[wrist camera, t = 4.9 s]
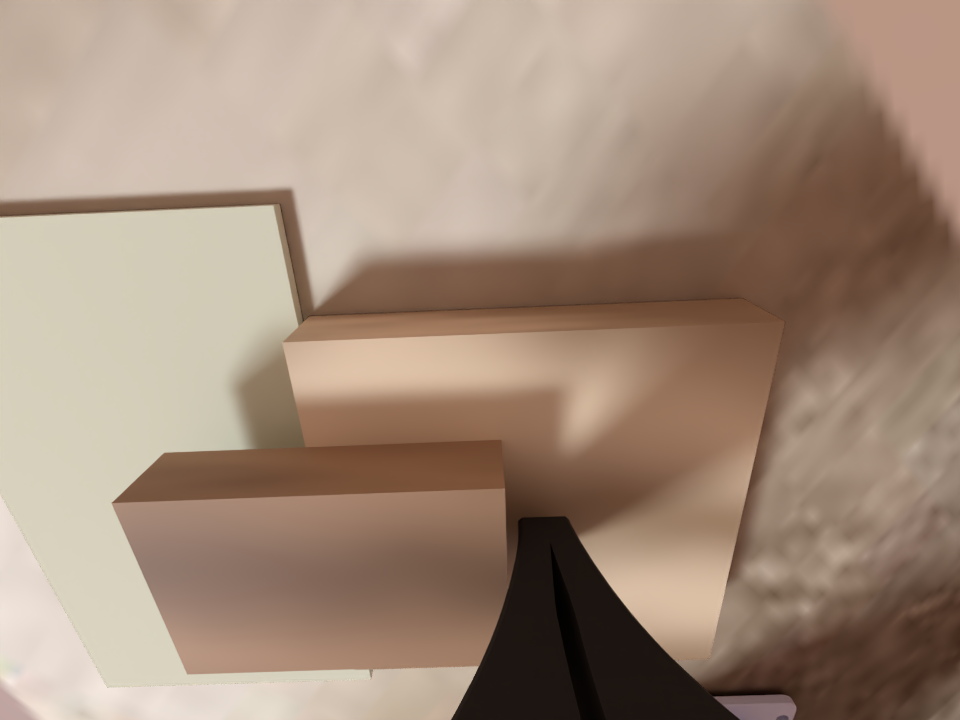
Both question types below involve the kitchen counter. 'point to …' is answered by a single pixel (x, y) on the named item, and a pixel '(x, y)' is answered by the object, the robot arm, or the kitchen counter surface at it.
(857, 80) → the kitchen counter surface
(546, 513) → the block
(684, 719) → the robot arm
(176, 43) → the kitchen counter surface
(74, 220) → the sage mat
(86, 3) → the kitchen counter surface
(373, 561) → the walnut tile
